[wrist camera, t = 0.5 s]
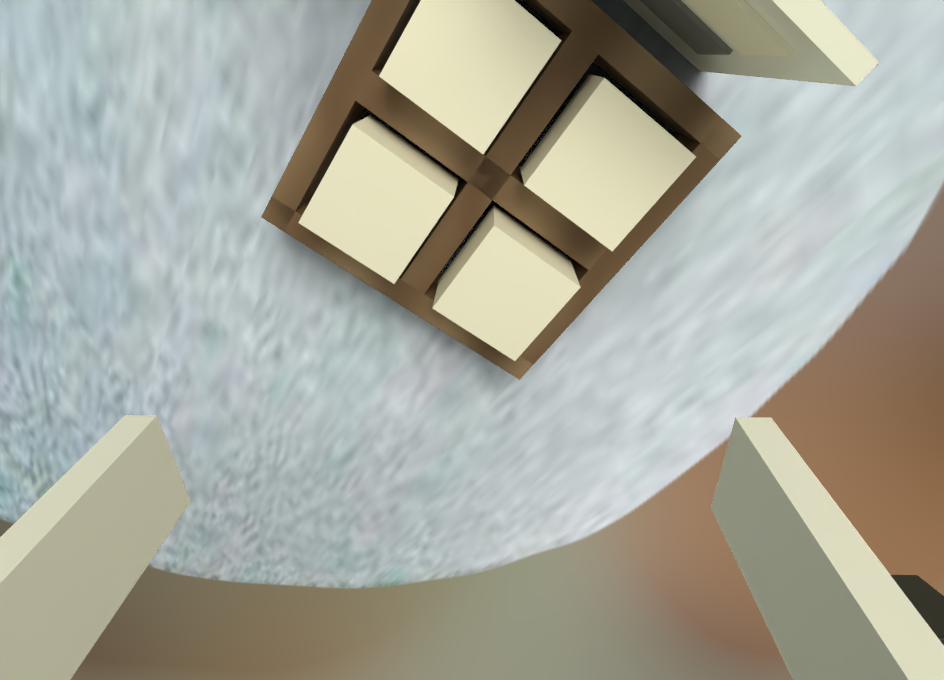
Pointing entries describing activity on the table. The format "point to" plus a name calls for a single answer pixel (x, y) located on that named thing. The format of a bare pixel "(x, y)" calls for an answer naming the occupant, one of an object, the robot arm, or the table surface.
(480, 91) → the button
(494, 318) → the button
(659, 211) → the board
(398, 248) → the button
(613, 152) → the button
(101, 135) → the table surface
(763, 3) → the card
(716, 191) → the table surface
